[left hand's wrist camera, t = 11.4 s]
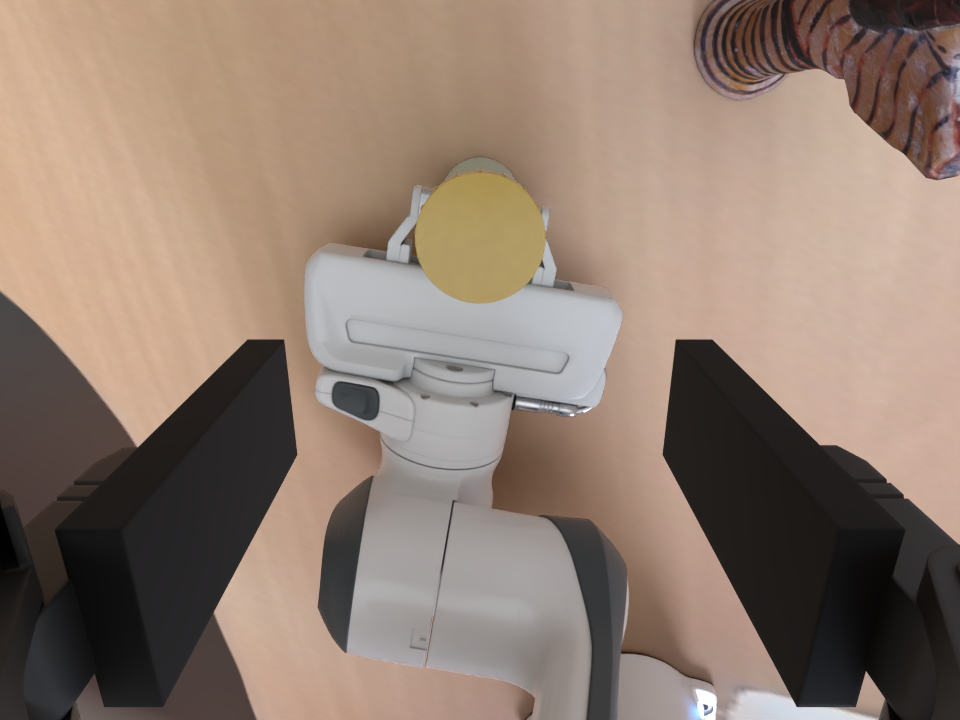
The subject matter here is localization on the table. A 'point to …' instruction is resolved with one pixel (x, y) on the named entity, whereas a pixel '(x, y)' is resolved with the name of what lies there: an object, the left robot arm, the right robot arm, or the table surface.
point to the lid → (480, 236)
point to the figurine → (850, 63)
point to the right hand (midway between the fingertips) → (481, 196)
